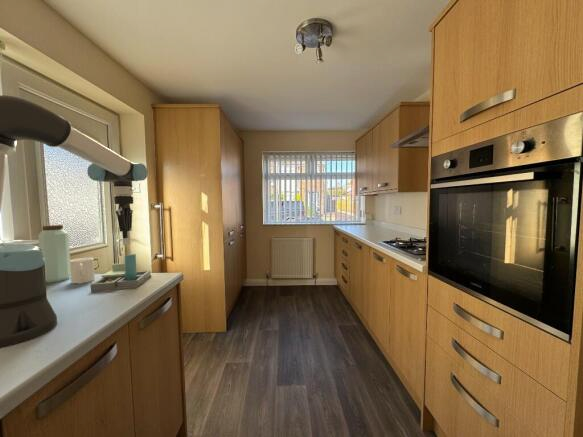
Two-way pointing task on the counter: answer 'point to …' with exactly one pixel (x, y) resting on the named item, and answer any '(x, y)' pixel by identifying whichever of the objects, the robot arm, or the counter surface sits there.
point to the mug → (82, 270)
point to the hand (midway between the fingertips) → (126, 244)
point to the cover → (116, 270)
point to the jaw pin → (130, 267)
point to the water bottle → (55, 252)
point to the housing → (119, 282)
